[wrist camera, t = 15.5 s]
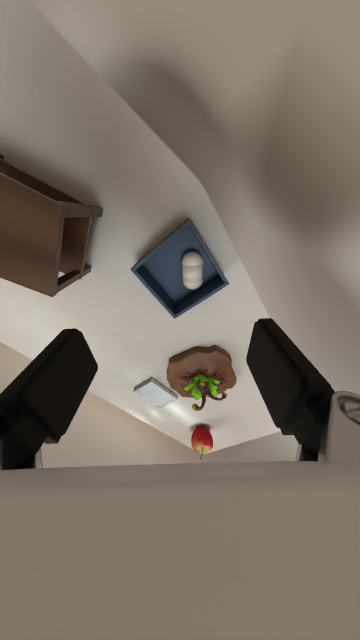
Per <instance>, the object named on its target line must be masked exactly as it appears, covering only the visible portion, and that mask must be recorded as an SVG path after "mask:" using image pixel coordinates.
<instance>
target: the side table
mask: <svg viewBox="0 0 360 640" xmlns="http://www.w3.org/2000/svg"><path fill="white" fill-rule="evenodd" d="M102 213H103V209H102V208H100V207H98V206H95V205H88V204H86V203H84V202H82V201H80V200H78V199H76V198H74V197H72V196H71V195H69V194H67V193H65V192H63V191H61V190H59V189H57V188H55V187H54V186H52V185H50V184H48V183H46V182H44V181H42V180H40V179H39V178H37V177H35V176H33V175H31V174H29V173H27V172H25V171H23V170H22V169H20V168H18V167H16V166H14V165H12V164H10V163H8V162H6V161H5V160H3V155H1V154H0V278H3V279H5V280H8V281H11V282H13V283H16V284H19V285H21V286H24V287H27V288H29V289H32V290H35V291H37V292H40V293H42V294H45V295H48V296H50V297H53V296H55V295H56V294H57V293H58V292H59V291H61V290H62V289H64V288H66V287H67V286H69V285H70V284H72V283H73V282H75V281H77V280H78V279H81V278H82V277H83V276H84V275H86V274H88V273H89V272H90V271H91V266H89V265H86V264H84V263H85V258H86V252H87V247H88V241H89V236H90V230H91V225H92V219H93V217H102ZM59 271H60V272H63V273H65V275H63V276H61V277H59V278H58V274H59Z"/></svg>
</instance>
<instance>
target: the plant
mask: <svg viewBox="0 0 360 640" xmlns="http://www.w3.org/2000/svg"><path fill="white" fill-rule="evenodd" d="M231 362H232V360H231V357H230V355H229V354H227V353H226V352H225V351H224V350H223V349H220V348H218V347H217V346H216V345H215V346H212V347H210V348H202V347H195V348H193V349H191V350H189V351H186V352H184V353H182V354H180V355H177V356H174V357H172V358H170V359H169V367H168V369H167V380H168V382H169V384H170V387H171V388H172V389H174V390H176V391H177V392H178V393H179V394H180V395H181V396H182V397H193V398H195V399H196V400H198V399H199V398H200V397H202V405H201V407H198V405H197V404H193V405H192V408H193V409H194V410H197V411H198V410H202V408H203V407H204V404H205V402H206V396H207V397H210V398H211V399H214V400H219V401H220V400H222V399H225V398H226V397H227V394H226V393H224V391H225V390H226V389H228V388H232V387H233V386H234V385H235V384H236V376H235V374H234V371H233V370H232V366H231ZM218 394H222V398H217V397H214V396H217V395H218Z"/></svg>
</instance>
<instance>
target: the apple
mask: <svg viewBox="0 0 360 640" xmlns="http://www.w3.org/2000/svg"><path fill="white" fill-rule="evenodd" d="M191 442H192V447H193V449H194V450H195V451H197V452H202V453H203V452H207V451H209V450H211V449H212V447H213V439H212V436H211V433H210V432H209V430H208V429H207V428H205V427H197V428H196V429H195V430H194V431H193V433H192V438H191ZM201 457H202V455H201ZM200 459H201V458H200Z"/></svg>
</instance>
